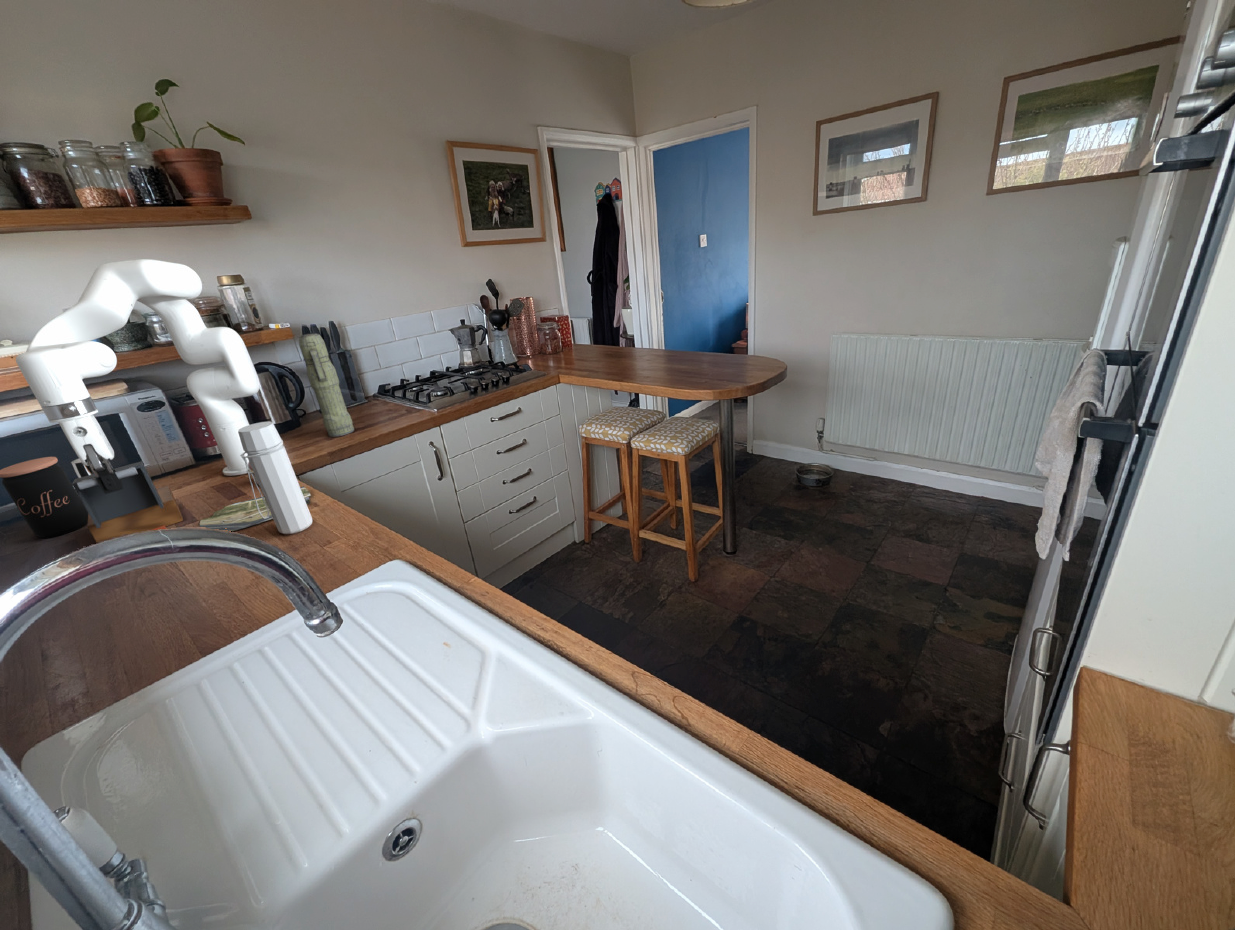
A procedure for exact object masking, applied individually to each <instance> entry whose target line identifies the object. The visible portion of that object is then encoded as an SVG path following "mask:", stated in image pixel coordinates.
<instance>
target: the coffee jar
mask: <svg viewBox="0 0 1235 930" xmlns="http://www.w3.org/2000/svg"><path fill="white" fill-rule="evenodd" d="M58 462H59V460H58V458H57V457H56V456H45V457H44V456H43V457H40V458H34V459H29V460H26V461H25V460H24V461H22V462H18V463H15V464H11V465H10V466H7V467H4V468H2V469H0V478H1V479H2V481H1V484H2V485H3V487H4V489H5V490H6V492H7V493H8V495H9V496H10V498H11V500H12V501H13V503H14V505H15V506H16V507H17V510H18V511H19V512H20V514H21V515H22V517H23V518H24V520H25V522H26V523H27V525H28V526H29V528H30V530H31V531H32V534H34V536H37V537H40V538H41V539H48V538H49V539H50V538H55V537H58V536H63V535H66V534H69V533H71V532H75V531H76V530H79V529H81V528H83V527H85V526H86V525H87V524H88V511H87V509H86V508H85V506H84V504H83V502H82V501H81V499H80V497H79V495H78V493H77V492H76V490H75V488H74V486H73V484H72V483H73V482H71V480H70V478H69V476H68V475H67V473H66V471H65V470H64V468H63V466H62V465H59V464H58Z"/></svg>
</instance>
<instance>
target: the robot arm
mask: <svg viewBox="0 0 1235 930" xmlns="http://www.w3.org/2000/svg"><path fill="white" fill-rule="evenodd" d="M202 291H203V282H202V279H201V277H200V276H199V274H198V273H197V272H196V271H195V270H194V269H193V268H191V267H190V266H188V265H186V264H184V263H178V262H170V261H164V260H158V259H150V258H149V259H148V258H140V259H130V260H120V261H112V262H110V261H109V262H106V263H103V264H101V265H99V266H97V268H96V269H95V270H94V272H93V273H92V275H91V277H90V278H89V280H88V282H87V284H86V287H85V288H84V290H83V292H82V294H81V296H80V297H79V299H78V301H77V302H76V303H75V304H74V305H72V306H71V307H68V308H67V309H66V310H64V311H62V312H61V313H59V314H58V315H57V316H55V317H54V318H52V319H51V320H49V321H48V322H47V323H45V324H44V325H43V326H42V327H40V328H39V329H38V330H37V332H36V333H35V334H34V336H33V338H32V339H31V341H30V343H29V344H28V346H27V348H26V351H25V352H22V353H19V354H17V356H16V357H15V363H16V365H17V367H18V368H19V370H20V372H21V374H22V376H23V378H24V379H25V381H26V383H27V385H28V386H29V388H30V390H31V391H32V393H33V395H34V397H35V399H36V401H37V402H38V404H39V406H40V408H41V409H42V411H43V413H44V415H45V416H46V419H47V420H48V422H49V423H52V424H53V423H54V424H55V423H58V424H59V426H60V427H61V430H62V431H63V433H64V436H65V437H66V439H67V440H68V443H69V444H70V446H71V447H72V449H73V451H74V452H75V455H76V456H77V457H78V459H80V460H81V462H82V463H83V465H86V466H89V465H90V467H91V469H92V470H93V472H94V474H95V476H96V477H95V478H96V480H97V481H98V483H99V485H100V487H101V489H102V491H103V492H104V494H108V493H112V492H115V491H119V490H122V489H123V484H122V482H121V480H120V479H118V477H117V475H116V473H115V472H116V471H115V469H114V468H113V466H112V463H111V462H110V461H112V460H114V458H115V451H114V449H113V446H112V445H111V443H110V442H109V441H110V440H108V438H107V435H106V434H105V432H104V430H103V429H102V427H101V425H100V423H99V422H98V420H97V418H96V417H95V414H98V413H99V410H98V408H97V405H95V402H94V400H93V398H92V397H91V394H90V393H89V390H88V389H87V386H86V385H85V383H84V381H83V380H84V379H90V378H99V377H103V376H106V375H109V374H110V373H111V372H113V370H115V368H116V367H117V363H118V359H117V355H116V353H115V351H113V349H112V348H111V347H109V346H108V345H106V344H104V343H101V342H98V341H95V340H98V339H100V338H103V337H105V336H108V335H110V334H112V333H114V332H116V331H118V330H120V329H123V327H124V326H126V325H127V323H128V321H129V318H130V316H131V314H132V311H133V309H134V308H135V306H136V303H137V302H139V303H141V304H142V305H145V306H146V307H147V308H149V309H150V310H152V311H153V312H154V313H155V314H156V315H158V317H159V318H160V320H161V321H162V322H163V324H164V327H165V329H166V330H167V333H168V335H169V337H170V339H171V340H172V343H173V345H174V348H175V349H176V352H177V354H178V355H179V357H180V358H181V359H182V361H184V362H185V363H186V364H188V365H196V366H197V365H207V364H216V363H217V364H218V363H225V365H222V366H212V367H204V368H200V369H196V370H194V371H192V372H191V373H189V375H188V376H187V378H186V387H187V389H188V392H189V393H190V395H191V396H192V397H193V399H194V400H195V402H196V403H197V405H198V406H199V408H200V410H201V411H202V413H203V416H204V417H205V420H206V421H207V424H208V426H209V429H210V431H211V433H212V436H213V438H214V441H215V442H216V444H217V447H218V449H219V452H220V453H221V456H222V459H223V461H224V463H225V465H226V466H225V467H224V468H223V469H222V474H223V475H224V476H227V477H234V476H241V475H245V474H248V472H246V471H247V468H248V466H247V468H246V465H247V464H248V463H249V460H248V458H246V460H247V461H246V462H247V464H245V461H244V460H243V459H242V457H241V456H240V455H242V454H243V453H244V452H245V451H244V450H243V447H242V443H241V440H240V437H239V433H238V430H239V429H241V428H243V427H245V426H248V425H250V422H249V420H248V417H247V415H246V413H245V411H244V408H242V407H241V405H239V403H238V402H236V401H235V400H234V399H238V398H246V397H251V396H254V395H256V394H257V393H258V392H259V391H260V388H261V387H260V386H261V384H260V379H259V376H258V373H257V371H256V368H255V365H254V363H253V360H252V359H251V356H250V354H249V351H248V349H247V346H246V345H245V342H244V340H243V338H242V337H241V336H240V334H239V333H238V332H237V331H236V330H234V329H233V328H231V327H228V326H216V327H215V326H214V327H207V326H206V324H205V322H204V321H203V318H202V316H201V315H200V313H199V310H198V309H197V308H196V307H195V305H193V304H192V303H191V302H190V301H189V300H192V299H196V298H197V297H199V296H200V295H201V293H202ZM247 455H248V454H247V453H245V454H244V456H247ZM113 469H114V470H113ZM248 470H249V469H248Z"/></svg>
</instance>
